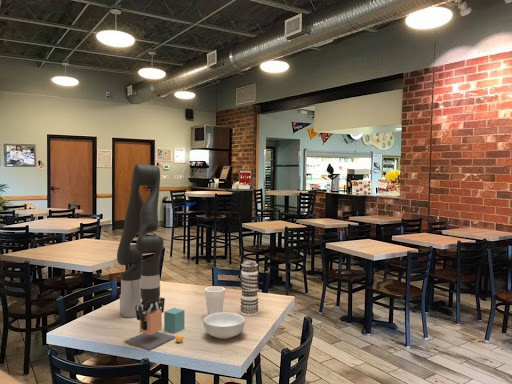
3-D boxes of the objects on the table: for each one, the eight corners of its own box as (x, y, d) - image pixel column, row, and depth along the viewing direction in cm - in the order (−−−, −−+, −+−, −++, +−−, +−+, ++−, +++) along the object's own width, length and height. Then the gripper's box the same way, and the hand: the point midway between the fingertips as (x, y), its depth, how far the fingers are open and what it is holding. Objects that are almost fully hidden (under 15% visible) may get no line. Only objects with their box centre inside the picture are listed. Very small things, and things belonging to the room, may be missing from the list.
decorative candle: (261, 310, 201) (261, 259, 200) (256, 316, 192) (256, 263, 191) (243, 308, 203) (243, 258, 202) (237, 315, 194) (237, 262, 193)
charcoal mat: (124, 342, 162) (124, 341, 162) (150, 331, 174) (150, 329, 174) (149, 350, 154) (149, 349, 154) (175, 338, 166) (175, 336, 166)
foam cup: (221, 320, 187) (221, 292, 186) (202, 319, 188) (202, 291, 188) (227, 313, 196) (227, 286, 195) (208, 312, 198) (208, 285, 197)
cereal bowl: (210, 346, 159) (210, 328, 158) (198, 331, 174) (198, 315, 174) (251, 339, 165) (251, 322, 165) (236, 325, 181) (236, 309, 180)
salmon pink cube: (139, 331, 163) (139, 311, 163) (150, 327, 168) (150, 307, 168) (150, 334, 160) (150, 314, 159) (161, 329, 165) (161, 310, 165)
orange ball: (174, 342, 162) (174, 335, 162) (179, 339, 165) (179, 332, 164) (179, 344, 160) (179, 336, 160) (184, 341, 163) (184, 334, 163)
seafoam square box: (164, 330, 175) (164, 311, 175) (174, 325, 180) (174, 307, 180) (174, 332, 172) (174, 314, 172) (184, 328, 177) (184, 310, 177)
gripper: (156, 280, 171) (156, 320, 172) (129, 288, 159) (130, 331, 160) (169, 282, 167) (170, 323, 168) (143, 291, 155) (143, 335, 156)
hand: (150, 327), depth 164 cm, fingers closed on salmon pink cube, 6 cm apart
